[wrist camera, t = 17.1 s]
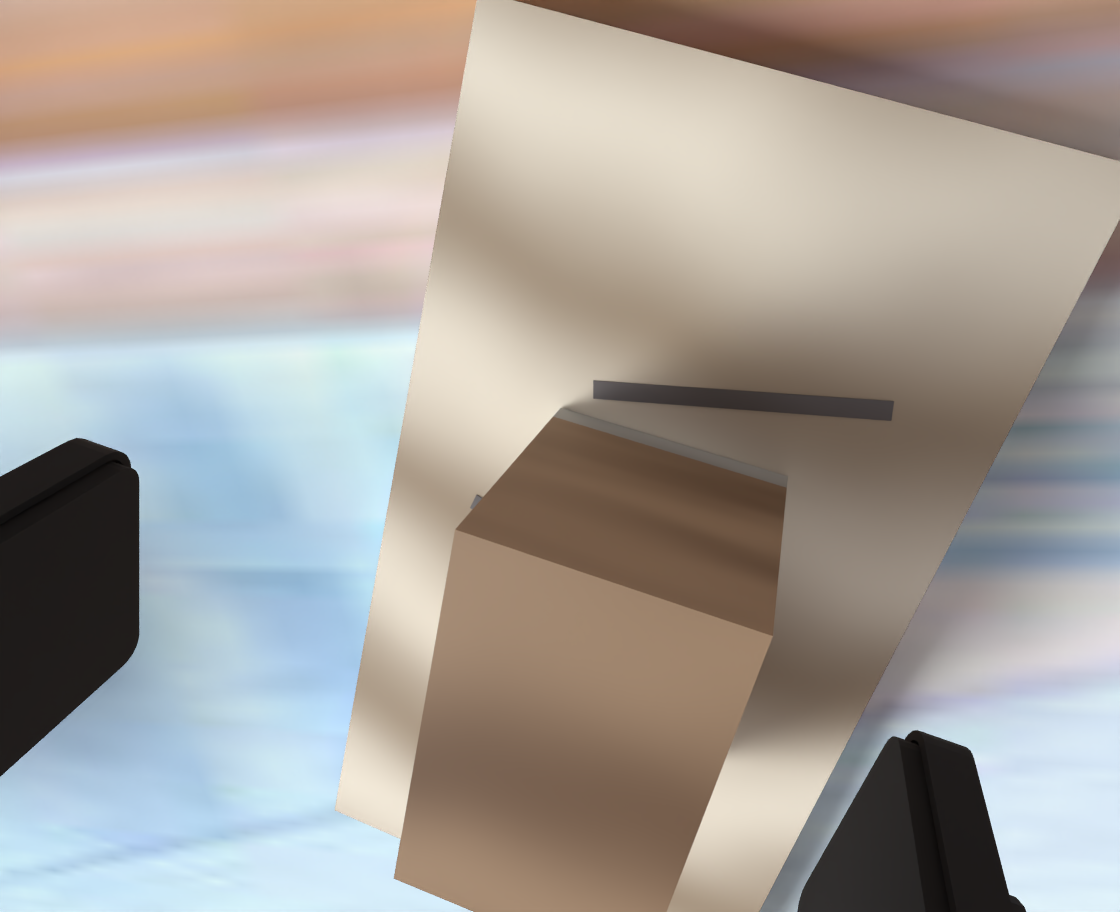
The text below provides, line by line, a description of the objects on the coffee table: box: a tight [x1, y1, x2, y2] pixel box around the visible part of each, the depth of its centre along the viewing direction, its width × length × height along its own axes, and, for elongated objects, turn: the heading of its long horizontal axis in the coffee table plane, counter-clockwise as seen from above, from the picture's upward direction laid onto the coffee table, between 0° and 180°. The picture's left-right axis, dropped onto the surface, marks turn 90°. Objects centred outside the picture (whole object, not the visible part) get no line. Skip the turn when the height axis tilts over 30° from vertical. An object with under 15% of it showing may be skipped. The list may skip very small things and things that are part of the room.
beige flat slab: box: [335, 0, 1120, 912], centre depth 20 cm, size 22×12×2 cm, turn 166°
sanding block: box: [394, 408, 788, 912], centre depth 17 cm, size 8×5×6 cm, turn 169°
